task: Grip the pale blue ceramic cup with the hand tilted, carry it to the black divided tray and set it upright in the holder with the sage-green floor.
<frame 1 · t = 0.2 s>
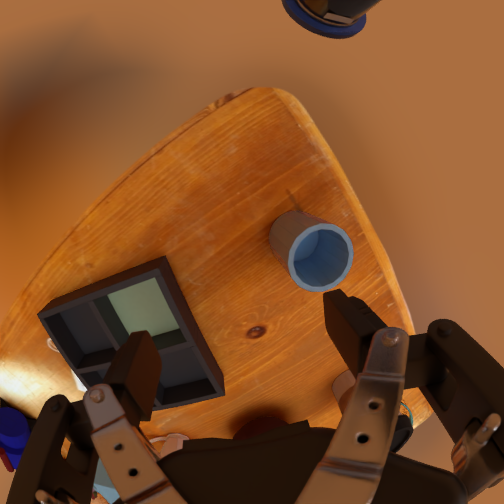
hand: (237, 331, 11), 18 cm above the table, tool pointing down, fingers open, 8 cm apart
alarm clock: (24, 418, 33), on the table
teapot: (135, 464, 39), on the table
dark brown oval ball: (260, 424, 38), on the table
blue cup: (295, 237, 30), on the table
black divided tray: (133, 342, 31), on the table
cup: (169, 437, 37), on the table
coffee cup: (348, 380, 38), on the table
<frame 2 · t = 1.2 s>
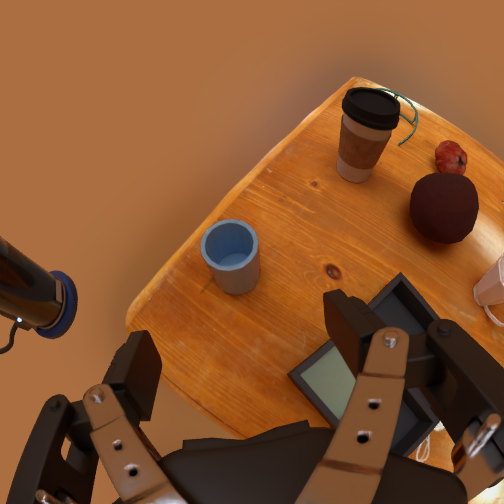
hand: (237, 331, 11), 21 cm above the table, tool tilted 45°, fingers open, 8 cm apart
pomegranate: (443, 170, 42), on the table
dark brown oval ball: (430, 226, 37), on the table
blue cup: (237, 272, 35), on the table
black divided tray: (386, 377, 28), on the table
sunglasses: (385, 120, 49), on the table
cup: (483, 303, 30), on the table
coffee cup: (352, 171, 42), on the table
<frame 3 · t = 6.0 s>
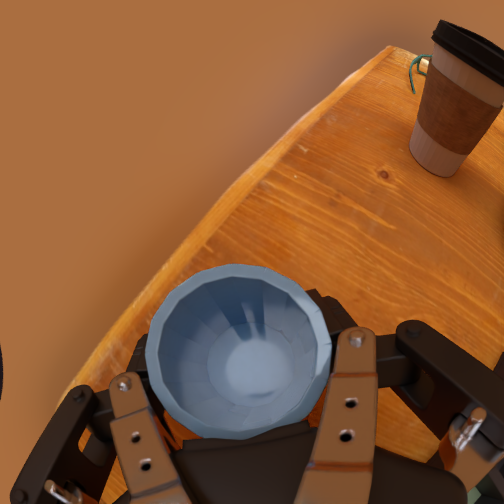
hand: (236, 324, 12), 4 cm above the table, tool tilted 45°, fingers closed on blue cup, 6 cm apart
blue cup: (251, 365, 15), on the table, touching gripper
black divided tray: (480, 490, 7), on the table
coffee cup: (432, 157, 22), on the table
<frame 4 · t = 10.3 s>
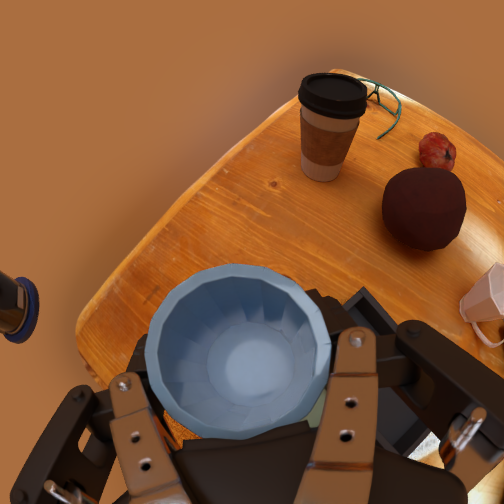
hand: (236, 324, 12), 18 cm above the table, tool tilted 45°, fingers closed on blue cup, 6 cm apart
pomegranate: (429, 166, 39), on the table
dark brown oval ball: (409, 230, 34), on the table
blue cup: (250, 365, 15), point 13 cm above the table, touching gripper
black divided tray: (344, 406, 24), on the table
sunglasses: (364, 113, 46), on the table
cup: (471, 318, 27), on the table
coffee cup: (320, 168, 39), on the table
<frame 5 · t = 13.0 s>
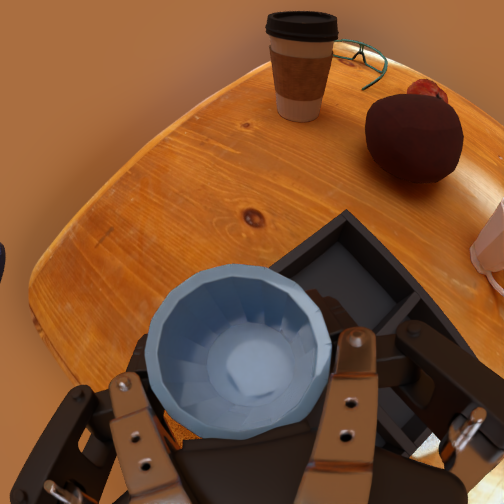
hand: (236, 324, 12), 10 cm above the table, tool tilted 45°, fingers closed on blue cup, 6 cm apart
pomegranate: (421, 116, 34), on the table
dark brown oval ball: (402, 169, 28), on the table
blue cup: (251, 365, 15), point 5 cm above the table, touching gripper
black divided tray: (330, 373, 19), on the table
sunglasses: (349, 70, 41), on the table
cup: (485, 270, 22), on the table
coffee cup: (298, 111, 34), on the table
when the fingers open (5 cm above the table, at t = 14.8 s): blue cup stays where it is, resting on black divided tray.
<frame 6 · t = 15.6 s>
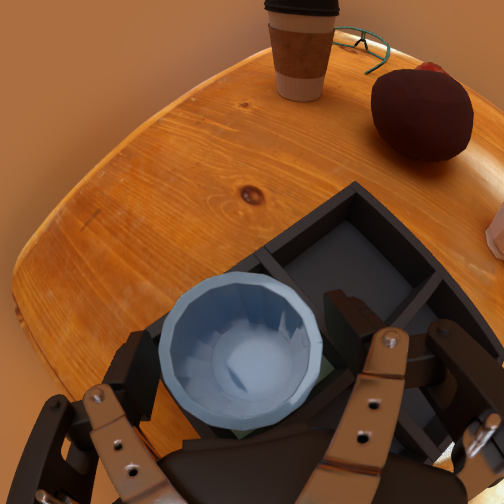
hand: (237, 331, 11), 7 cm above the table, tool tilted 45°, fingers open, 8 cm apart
pomegranate: (426, 101, 31), on the table
dark brown oval ball: (410, 149, 26), on the table
blue cup: (252, 362, 16), point 1 cm above the table, touching black divided tray
black divided tray: (341, 369, 16), on the table
sunglasses: (351, 57, 38), on the table
cup: (501, 255, 19), on the table
coffee cup: (299, 92, 31), on the table
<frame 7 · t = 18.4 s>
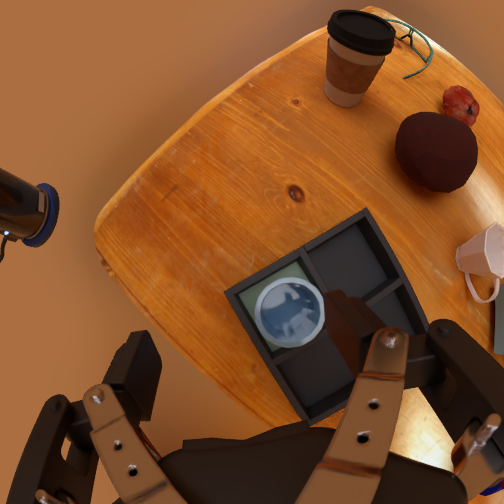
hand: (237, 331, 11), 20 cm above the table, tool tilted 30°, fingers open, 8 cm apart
pomegranate: (451, 115, 33), on the table
dark brown oval ball: (420, 168, 32), on the table
blue cup: (285, 307, 30), point 1 cm above the table, touching black divided tray
black divided tray: (333, 318, 30), on the table
sunglasses: (394, 52, 36), on the table
cup: (464, 268, 30), on the table
coffee cup: (342, 94, 35), on the table
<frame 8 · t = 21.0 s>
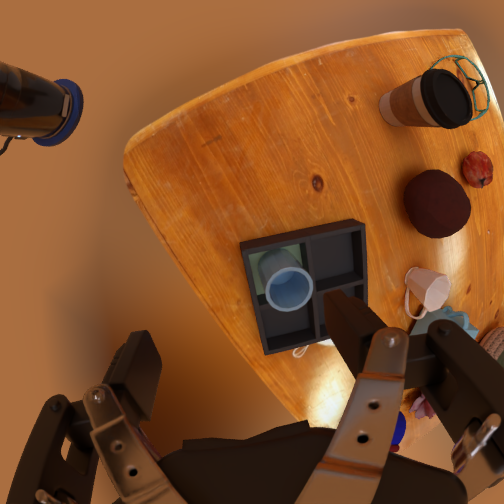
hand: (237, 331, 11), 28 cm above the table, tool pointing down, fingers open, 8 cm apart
alarm clock: (365, 411, 56), on the table
pomegranate: (466, 167, 40), on the table
teapot: (432, 326, 50), on the table
dark brown oval ball: (417, 199, 41), on the table
blue cup: (277, 267, 40), point 1 cm above the table, touching black divided tray
black divided tray: (306, 283, 43), on the table
planter: (483, 341, 57), on the table
sunglasses: (455, 88, 34), on the table
flower: (424, 387, 58), on the table
cup: (409, 283, 46), on the table
coffee cup: (392, 109, 35), on the table
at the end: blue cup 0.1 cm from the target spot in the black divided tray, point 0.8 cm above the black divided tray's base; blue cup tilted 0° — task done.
